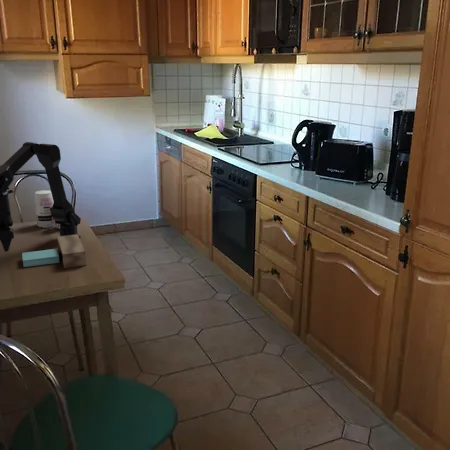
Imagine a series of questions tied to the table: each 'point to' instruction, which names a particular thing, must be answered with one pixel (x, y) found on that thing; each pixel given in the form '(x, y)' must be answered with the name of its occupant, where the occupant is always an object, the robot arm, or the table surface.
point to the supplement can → (44, 208)
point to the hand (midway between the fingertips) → (6, 251)
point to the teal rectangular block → (40, 257)
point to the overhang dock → (71, 251)
